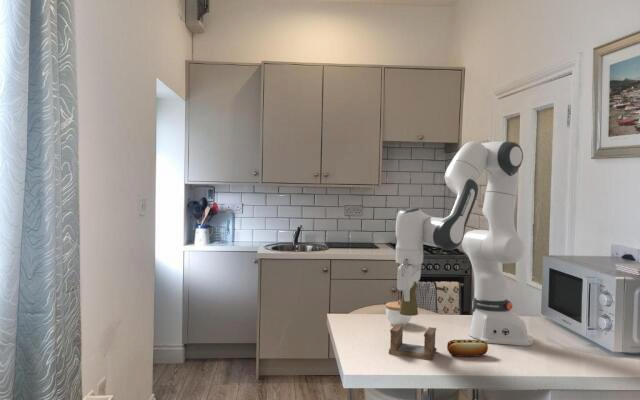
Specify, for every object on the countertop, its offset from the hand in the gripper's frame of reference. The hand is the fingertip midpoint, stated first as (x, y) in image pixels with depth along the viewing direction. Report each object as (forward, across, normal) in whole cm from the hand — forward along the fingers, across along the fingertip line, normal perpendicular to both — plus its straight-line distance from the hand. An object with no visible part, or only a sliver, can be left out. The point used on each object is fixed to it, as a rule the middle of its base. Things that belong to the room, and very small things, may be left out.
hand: (409, 298), depth 168 cm
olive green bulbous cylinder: (+5, 0, 0) cm, 5 cm away
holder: (+18, 0, -1) cm, 18 cm away
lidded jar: (+19, +32, +11) cm, 39 cm away
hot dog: (+19, +5, -18) cm, 27 cm away
